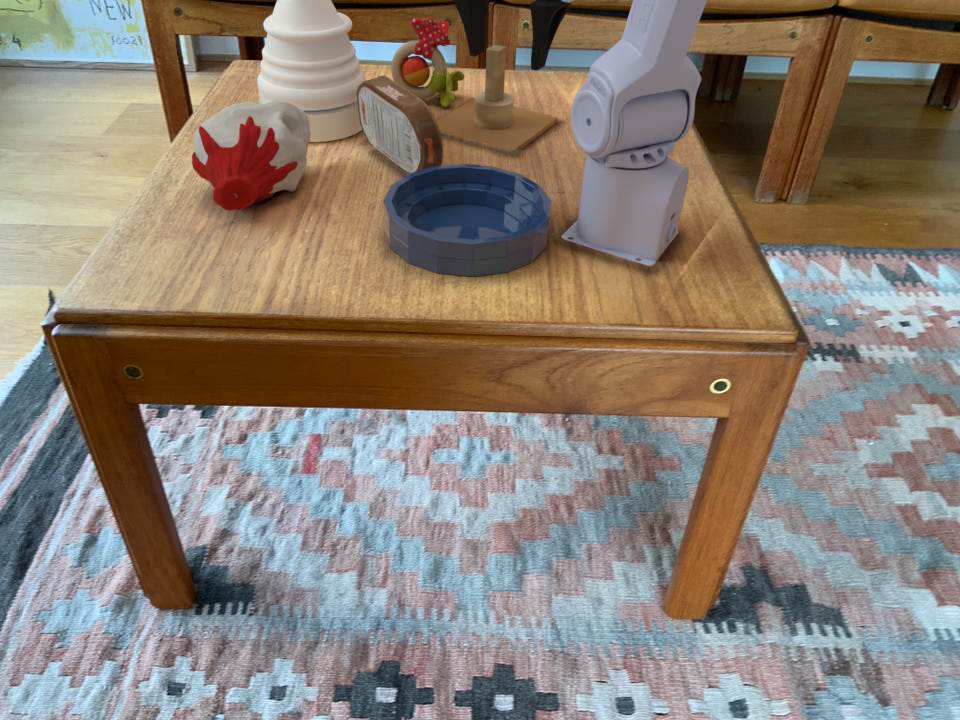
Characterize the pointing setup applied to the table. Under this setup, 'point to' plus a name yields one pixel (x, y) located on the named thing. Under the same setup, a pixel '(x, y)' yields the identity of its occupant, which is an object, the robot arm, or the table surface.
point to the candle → (251, 151)
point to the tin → (399, 124)
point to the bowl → (467, 219)
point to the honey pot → (312, 66)
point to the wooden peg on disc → (494, 94)
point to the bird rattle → (417, 69)
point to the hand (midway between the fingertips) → (507, 60)
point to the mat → (510, 138)
